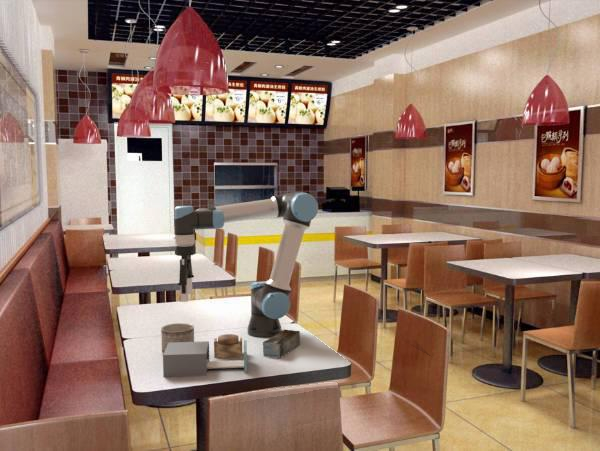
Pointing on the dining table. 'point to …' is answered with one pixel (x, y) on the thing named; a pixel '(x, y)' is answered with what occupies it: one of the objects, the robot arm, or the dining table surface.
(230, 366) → the tray
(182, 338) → the planter
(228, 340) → the walnut disc
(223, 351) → the oak block
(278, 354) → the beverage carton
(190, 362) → the housing
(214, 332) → the dining table surface
